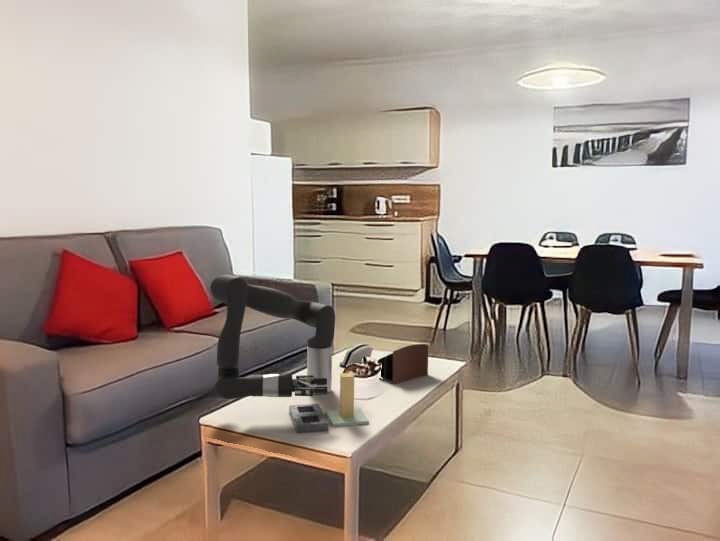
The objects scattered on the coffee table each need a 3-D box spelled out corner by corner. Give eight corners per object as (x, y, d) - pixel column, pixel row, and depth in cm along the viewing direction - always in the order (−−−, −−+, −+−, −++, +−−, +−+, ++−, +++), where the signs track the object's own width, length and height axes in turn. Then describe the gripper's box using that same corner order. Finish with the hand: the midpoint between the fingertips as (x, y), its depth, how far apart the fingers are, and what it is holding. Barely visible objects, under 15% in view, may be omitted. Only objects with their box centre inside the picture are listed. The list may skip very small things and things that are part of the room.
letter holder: (428, 375, 256) (429, 342, 254) (393, 384, 243) (394, 349, 241) (411, 369, 264) (412, 337, 262) (376, 378, 251) (377, 344, 249)
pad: (325, 413, 211) (325, 410, 210) (360, 411, 213) (360, 408, 213) (332, 426, 199) (332, 423, 199) (368, 424, 202) (368, 421, 202)
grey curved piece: (360, 358, 279) (367, 338, 276) (368, 363, 277) (375, 344, 274) (338, 366, 266) (345, 346, 262) (346, 372, 263) (353, 351, 260)
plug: (339, 413, 208) (340, 373, 206) (351, 413, 208) (352, 372, 207) (341, 418, 204) (342, 377, 202) (353, 417, 204) (354, 376, 203)
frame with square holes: (289, 412, 211) (289, 405, 210) (318, 410, 213) (318, 403, 213) (296, 433, 193) (296, 425, 193) (328, 430, 196) (328, 423, 195)
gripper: (276, 381, 196) (327, 381, 197) (278, 368, 210) (326, 368, 211) (276, 404, 197) (327, 403, 198) (278, 389, 211) (326, 389, 212)
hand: (327, 385), depth 204 cm, fingers open, 8 cm apart
